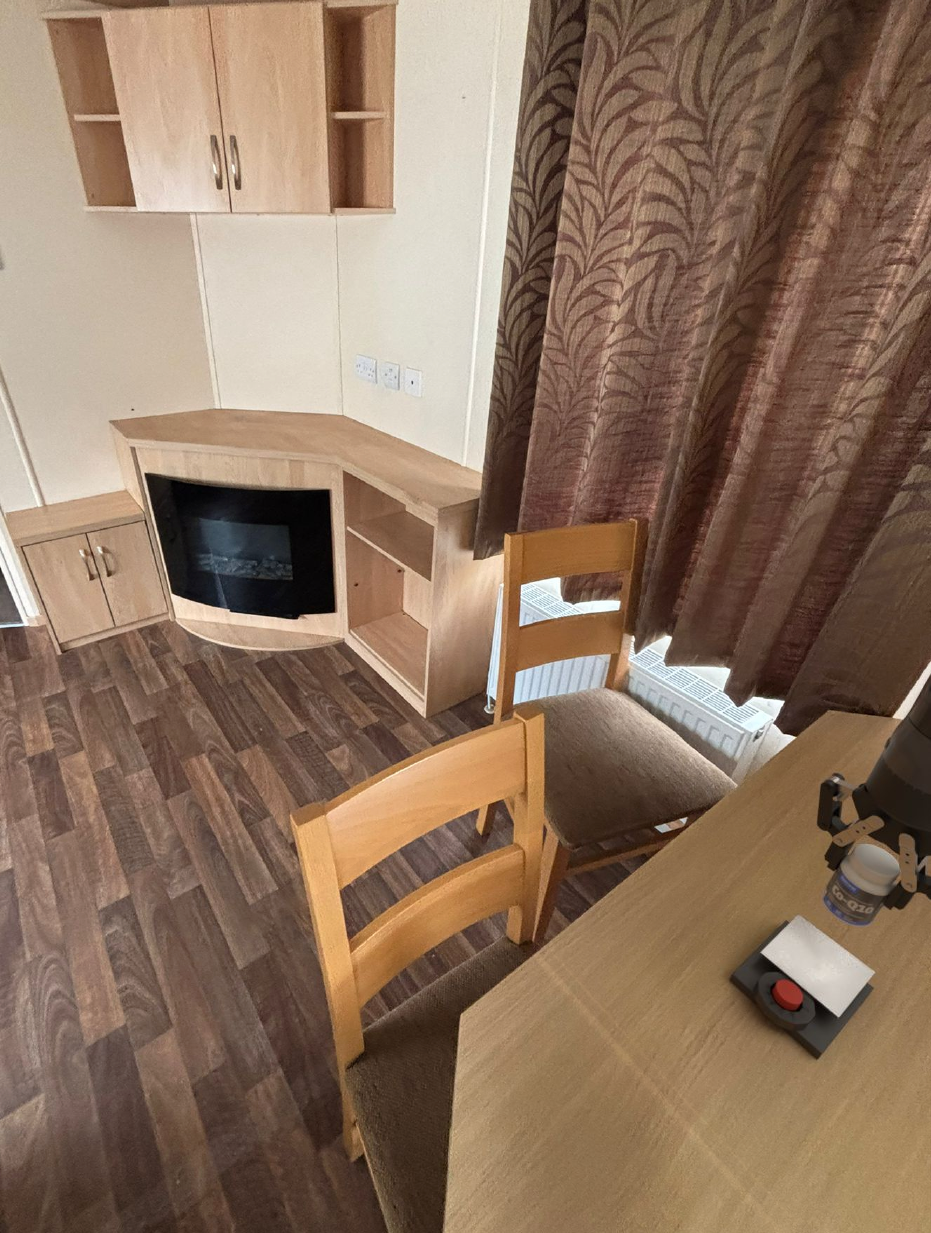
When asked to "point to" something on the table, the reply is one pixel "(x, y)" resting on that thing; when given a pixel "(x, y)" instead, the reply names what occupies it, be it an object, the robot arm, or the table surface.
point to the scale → (809, 1019)
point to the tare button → (787, 995)
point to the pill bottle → (861, 885)
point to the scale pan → (818, 965)
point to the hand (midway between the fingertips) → (861, 883)
